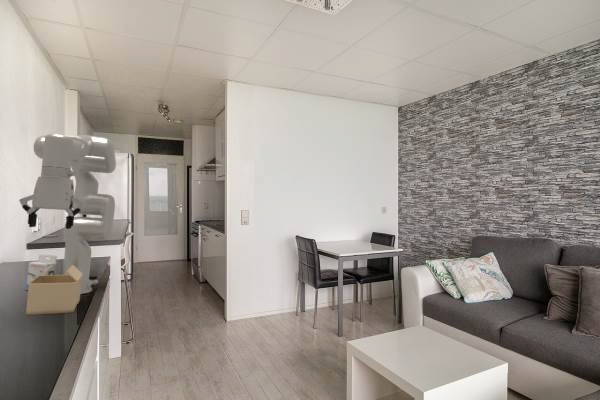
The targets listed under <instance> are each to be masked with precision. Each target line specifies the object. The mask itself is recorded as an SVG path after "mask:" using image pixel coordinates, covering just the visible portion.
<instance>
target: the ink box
mask: <svg viewBox="0 0 600 400" xmlns="http://www.w3.org/2000/svg"><path fill="white" fill-rule="evenodd" d="M48 258H49V259H48ZM51 265H52V267H50V268H49V269H48V270H47V271H45V272H44V273H43V274H41V275H56V268H57V255H53V254H41V253H40V254H39V255H38V261H31V262H28V270H27V278H26V285H25V286H26V289H29V284H30V283H29V281H31V280H32V279H33V278H35V277H36V276H37V275H39V274H40V273H41V272H43V271H44V270H45V269H47V268H48V267H49V266H51ZM37 278H38V277H37ZM33 281H34V280H33ZM26 289H25V290H26Z"/></svg>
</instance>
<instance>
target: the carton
mask: <svg viewBox="0 0 600 400" xmlns="http://www.w3.org/2000/svg"><path fill="white" fill-rule="evenodd" d="M81 281H82V276H81V277H80V279H79V280H78V281H77V282H76V281H75V280H74V279H73V278H72V277H71V276H70V275H63V274H55V275H40V276H39V277H38V278H36V279H35V280H34V281H32V282H31V283H30V284H29V289H28V291H27V300H26V301H27V302H26V311H25V316H31V315H47V314H48V315H49V314H50V315H51V314H65V313H66V314H69V313H74V312H75V310H76V309H77V307H76V306H78V305H79V303H80V301H81V294H80V292H81ZM77 304H78V305H77Z"/></svg>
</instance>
